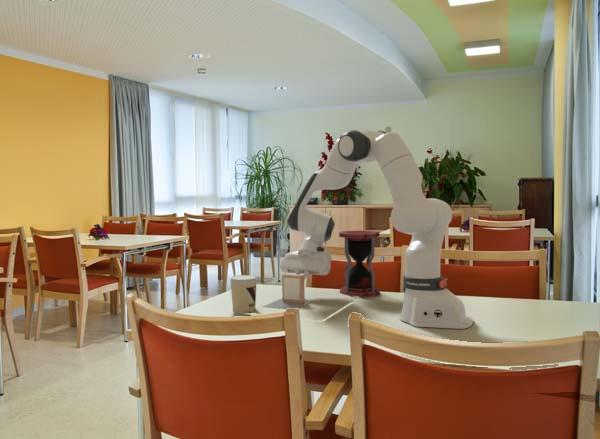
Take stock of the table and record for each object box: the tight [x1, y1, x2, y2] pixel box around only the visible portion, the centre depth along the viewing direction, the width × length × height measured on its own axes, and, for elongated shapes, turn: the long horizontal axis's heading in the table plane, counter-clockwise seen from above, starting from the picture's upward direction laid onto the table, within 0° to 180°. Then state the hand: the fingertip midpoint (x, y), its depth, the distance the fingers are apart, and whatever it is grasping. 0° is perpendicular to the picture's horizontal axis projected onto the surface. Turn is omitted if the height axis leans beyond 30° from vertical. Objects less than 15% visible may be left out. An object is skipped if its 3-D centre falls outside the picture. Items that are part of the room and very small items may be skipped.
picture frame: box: [281, 273, 306, 303], centre depth 190 cm, size 8×3×10 cm, turn 64°
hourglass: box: [338, 230, 381, 298], centre depth 205 cm, size 16×16×25 cm
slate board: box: [262, 297, 314, 310], centre depth 187 cm, size 13×16×1 cm
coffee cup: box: [229, 274, 258, 315], centre depth 180 cm, size 9×9×12 cm
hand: (299, 281), depth 195 cm, fingers closed
